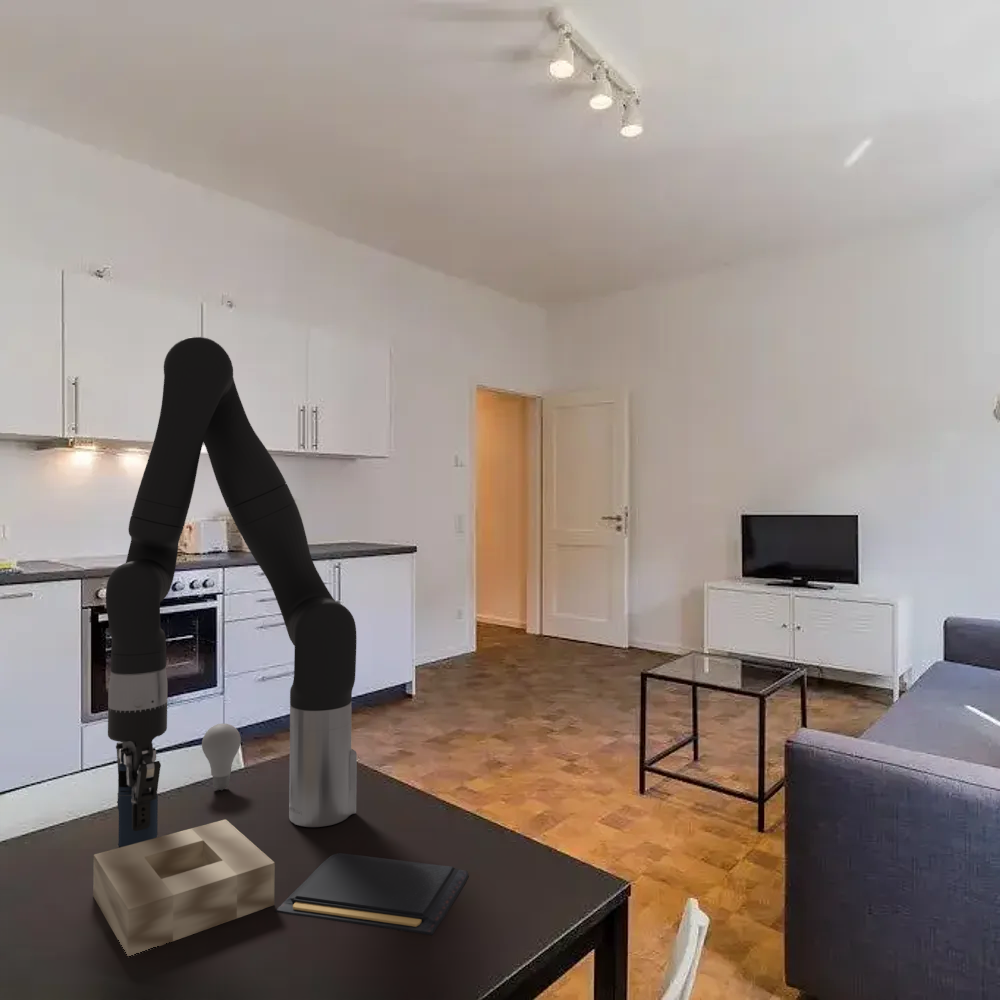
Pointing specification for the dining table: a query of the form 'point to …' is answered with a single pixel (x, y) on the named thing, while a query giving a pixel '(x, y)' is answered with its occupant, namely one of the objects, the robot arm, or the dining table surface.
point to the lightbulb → (221, 752)
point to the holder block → (181, 884)
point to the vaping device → (125, 814)
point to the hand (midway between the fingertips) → (136, 822)
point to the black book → (378, 893)
